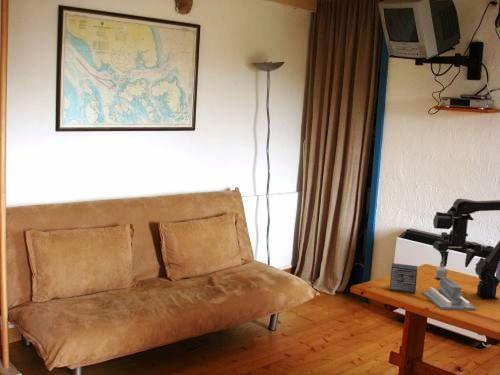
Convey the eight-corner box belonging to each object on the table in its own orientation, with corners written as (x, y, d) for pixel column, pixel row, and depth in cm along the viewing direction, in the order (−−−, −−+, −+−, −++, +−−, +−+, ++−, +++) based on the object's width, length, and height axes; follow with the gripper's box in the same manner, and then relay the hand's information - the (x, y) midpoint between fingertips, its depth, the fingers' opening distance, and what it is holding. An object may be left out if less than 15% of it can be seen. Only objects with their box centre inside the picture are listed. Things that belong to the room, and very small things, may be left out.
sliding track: (455, 295, 253) (456, 288, 253) (475, 310, 236) (476, 302, 235) (422, 294, 252) (423, 287, 251) (440, 309, 234) (441, 301, 234)
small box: (415, 289, 258) (418, 265, 256) (415, 294, 252) (417, 269, 250) (389, 286, 261) (392, 262, 259) (389, 290, 254) (391, 266, 253)
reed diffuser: (432, 275, 280) (436, 233, 277) (447, 276, 280) (451, 234, 278) (439, 282, 270) (444, 238, 267) (454, 283, 270) (459, 239, 267)
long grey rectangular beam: (446, 294, 250) (448, 278, 249) (459, 304, 238) (461, 287, 237) (438, 294, 249) (440, 278, 248) (450, 304, 238) (452, 287, 237)
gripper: (471, 226, 259) (467, 261, 261) (429, 224, 256) (426, 260, 259) (484, 232, 248) (480, 269, 250) (440, 230, 246) (436, 268, 248)
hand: (455, 266), depth 252 cm, fingers open, 9 cm apart
